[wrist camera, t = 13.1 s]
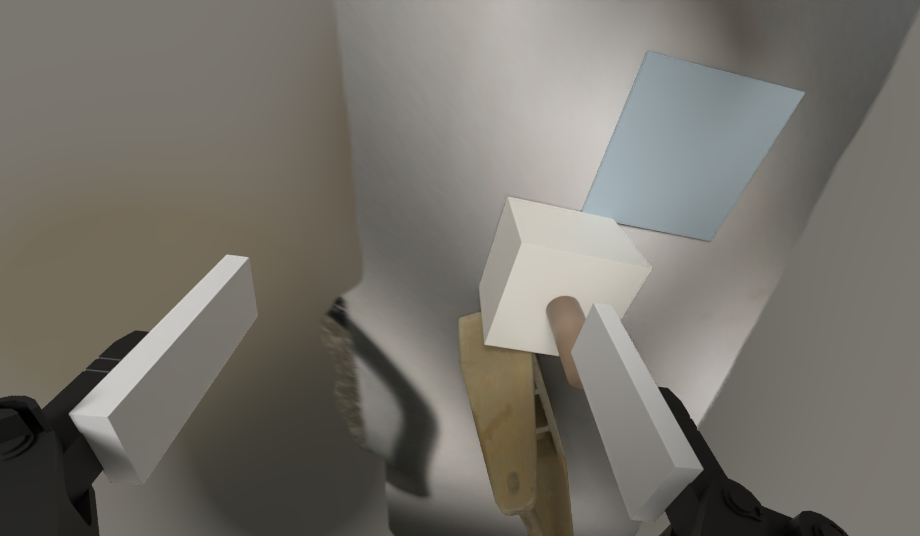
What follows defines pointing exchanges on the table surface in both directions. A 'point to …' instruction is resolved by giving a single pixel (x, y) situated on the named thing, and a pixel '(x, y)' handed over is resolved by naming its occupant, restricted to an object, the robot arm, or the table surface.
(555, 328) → the cover box
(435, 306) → the table surface
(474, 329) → the caddy
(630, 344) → the robot arm
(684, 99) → the mat
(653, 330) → the table surface
